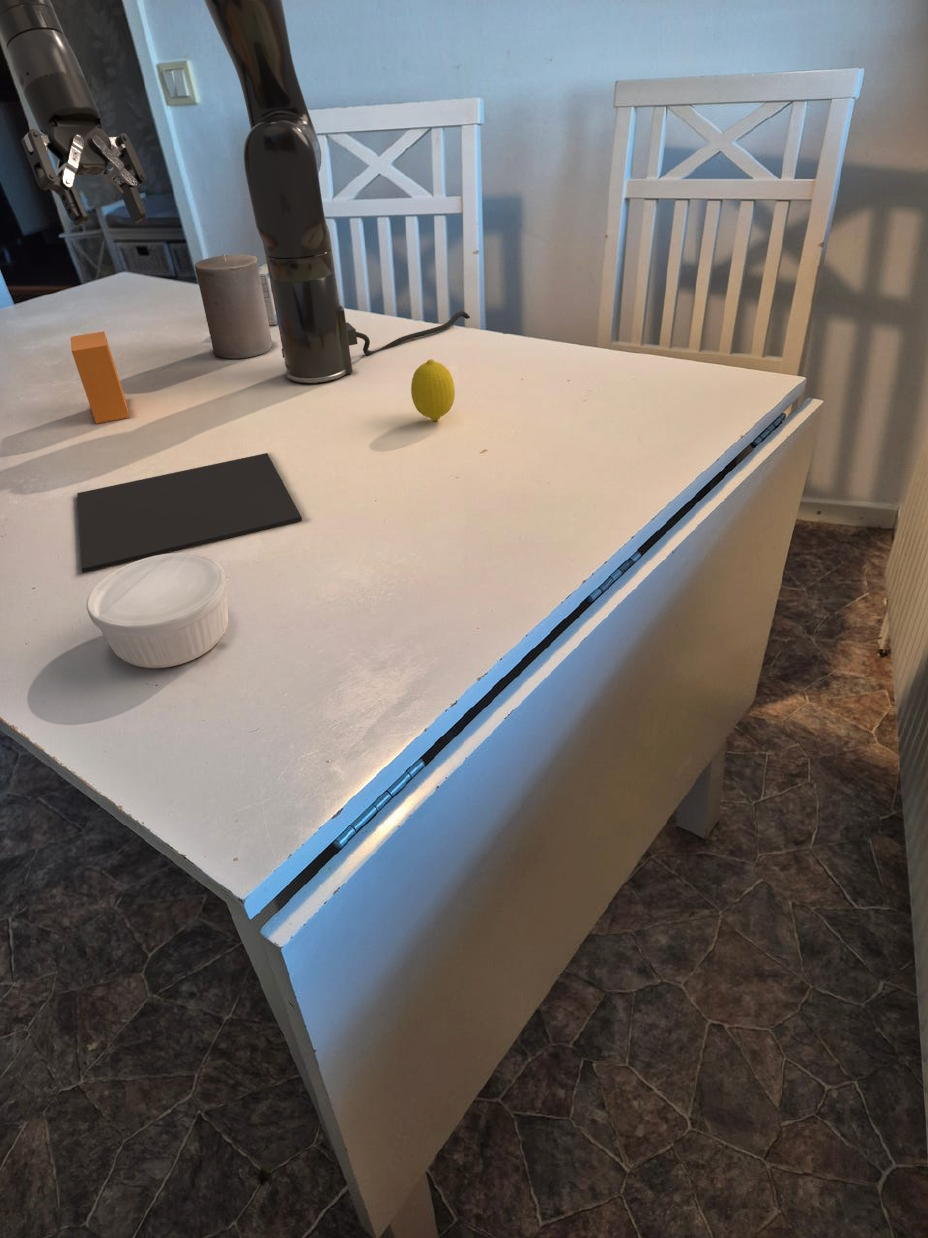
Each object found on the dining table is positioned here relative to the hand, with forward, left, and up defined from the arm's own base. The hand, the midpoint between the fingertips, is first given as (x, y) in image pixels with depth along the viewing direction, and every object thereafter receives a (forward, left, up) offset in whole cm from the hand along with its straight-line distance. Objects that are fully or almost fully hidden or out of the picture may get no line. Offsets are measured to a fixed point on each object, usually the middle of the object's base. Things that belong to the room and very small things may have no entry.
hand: (112, 221), depth 104 cm
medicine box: (-23, -31, -24) cm, 45 cm away
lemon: (-32, +28, -24) cm, 48 cm away
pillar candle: (-15, -16, -24) cm, 32 cm away
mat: (+1, +37, -23) cm, 44 cm away
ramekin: (+5, +61, -24) cm, 65 cm away
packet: (+7, +2, -23) cm, 24 cm away
